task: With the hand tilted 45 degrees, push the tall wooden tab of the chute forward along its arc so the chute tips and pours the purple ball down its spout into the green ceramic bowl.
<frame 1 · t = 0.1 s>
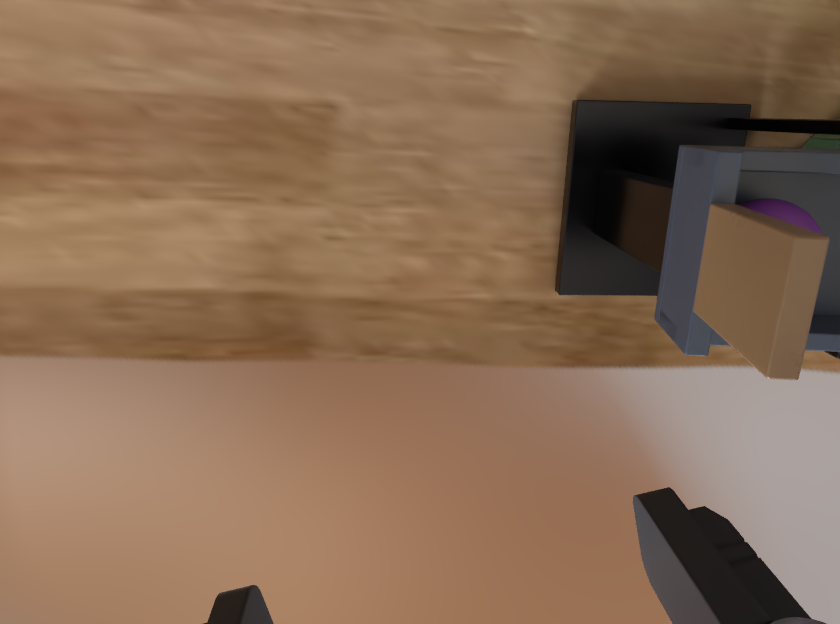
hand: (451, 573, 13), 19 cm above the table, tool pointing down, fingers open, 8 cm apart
stand: (725, 202, 30), on the table
ball: (762, 251, 19), point 11 cm above the table, tilted 7°, touching chute
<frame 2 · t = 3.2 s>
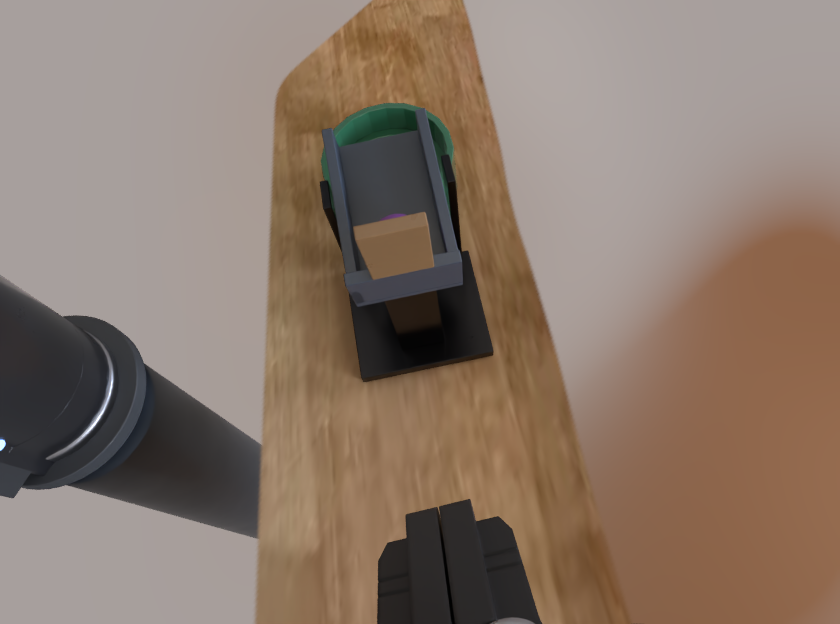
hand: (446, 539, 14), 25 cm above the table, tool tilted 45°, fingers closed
stand: (408, 268, 46), on the table
chute: (384, 180, 32), point 14 cm above the table, hinge at -8.1°, touching ball
bowl: (396, 195, 49), on the table
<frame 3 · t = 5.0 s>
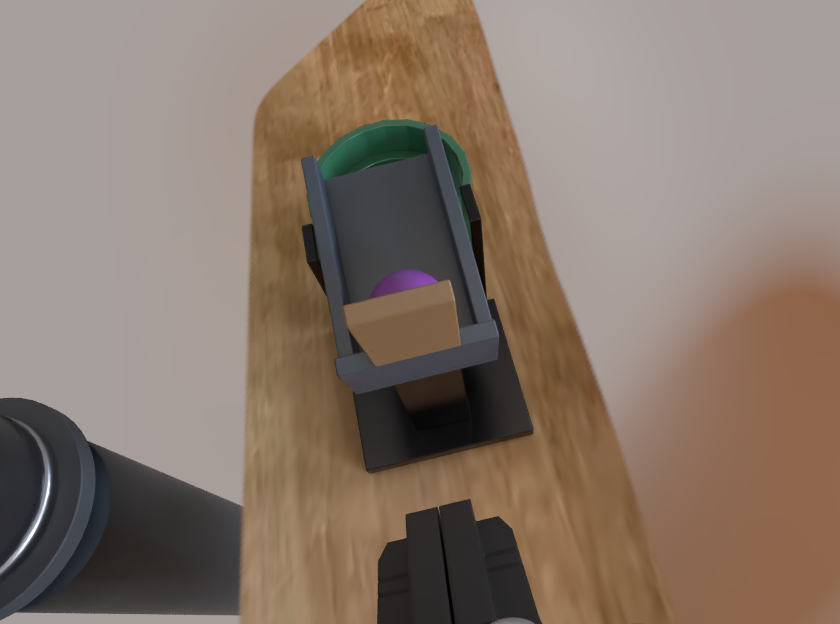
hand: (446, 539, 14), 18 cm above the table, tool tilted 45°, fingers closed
stand: (420, 322, 37), on the table
ball: (408, 310, 25), point 11 cm above the table, tilted 7°, touching chute
chute: (386, 225, 23), point 14 cm above the table, hinge at -8.1°, touching ball
bowl: (401, 231, 40), on the table
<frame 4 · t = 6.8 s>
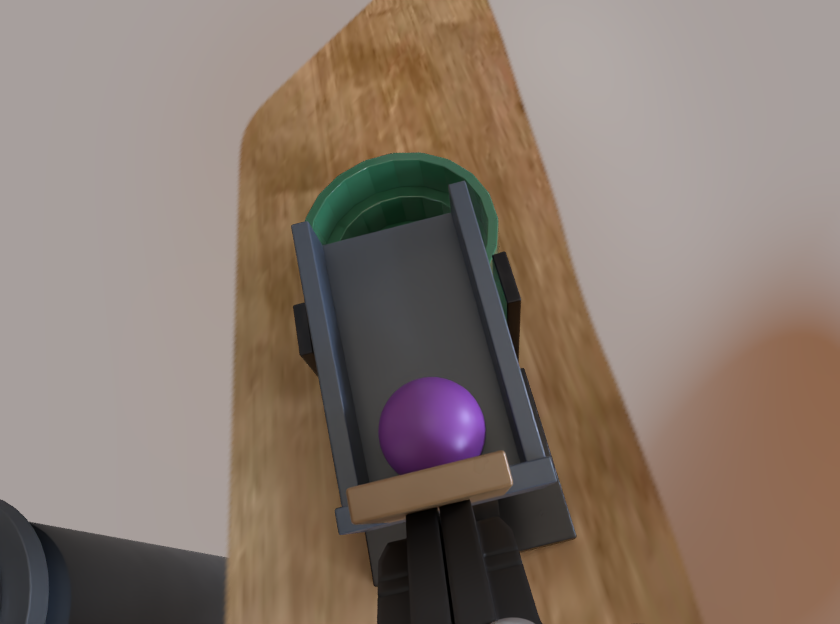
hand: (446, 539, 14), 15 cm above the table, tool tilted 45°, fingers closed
stand: (435, 394, 31), on the table
ball: (431, 430, 19), point 11 cm above the table, tilted 6°, touching chute
chute: (403, 326, 18), point 14 cm above the table, hinge at -7.3°, touching ball, gripper
bowl: (412, 281, 34), on the table
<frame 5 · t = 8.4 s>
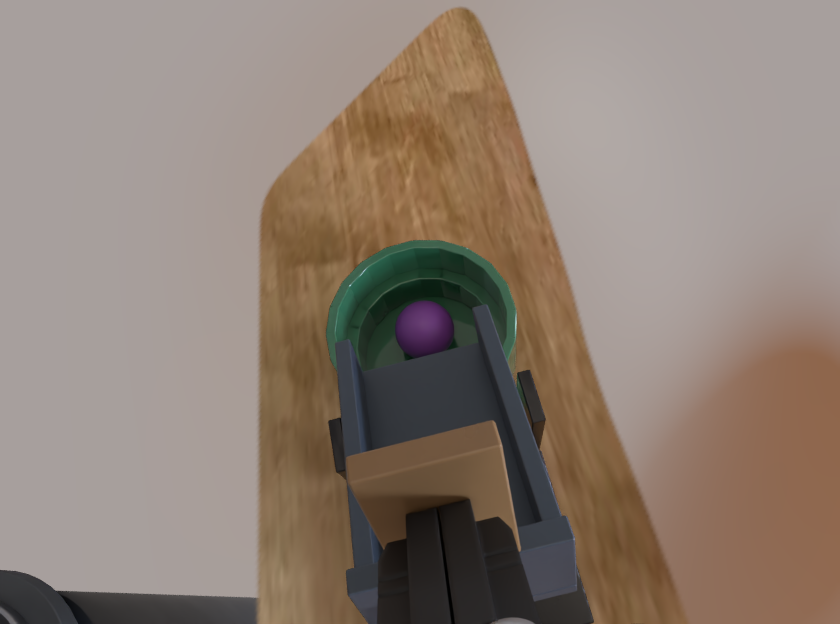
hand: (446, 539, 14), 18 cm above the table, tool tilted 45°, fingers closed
stand: (455, 474, 32), on the table
ball: (424, 330, 34), point 2 cm above the table, tilted 105°, touching bowl
chute: (423, 397, 19), point 15 cm above the table, hinge at 19.7°, touching gripper
bowl: (430, 358, 35), on the table
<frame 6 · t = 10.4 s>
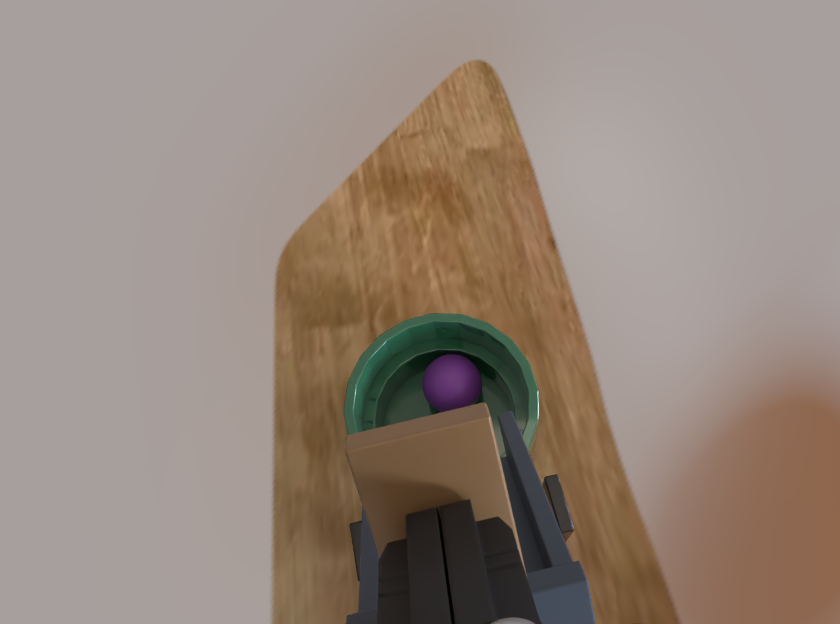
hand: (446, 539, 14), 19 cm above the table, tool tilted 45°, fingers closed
stand: (474, 553, 32), on the table
ball: (451, 384, 34), point 2 cm above the table, tilted 75°, touching bowl
chute: (439, 463, 19), point 14 cm above the table, hinge at 42.5°
bowl: (448, 428, 35), on the table
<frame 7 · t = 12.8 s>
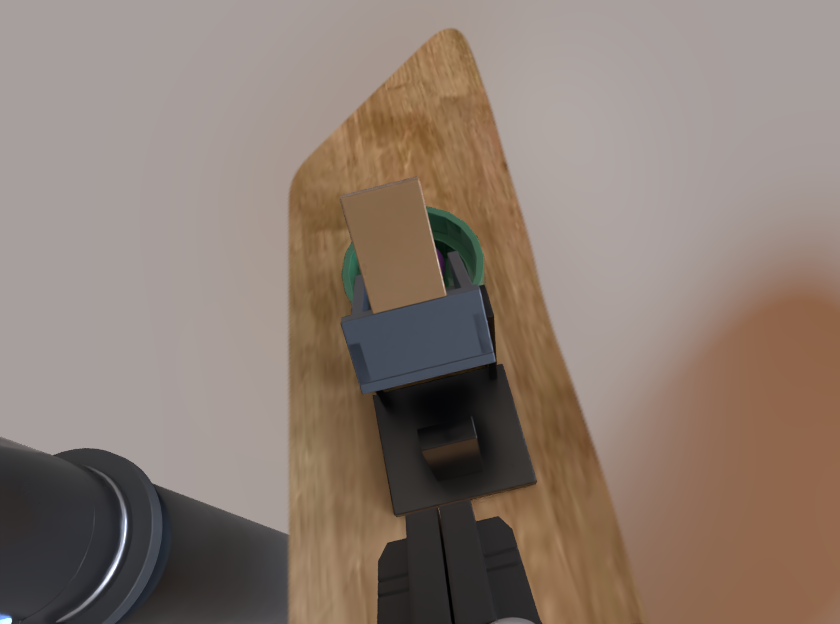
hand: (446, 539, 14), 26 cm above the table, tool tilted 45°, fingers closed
stand: (438, 383, 43), on the table
chute: (401, 257, 30), point 14 cm above the table, hinge at 42.5°
bowl: (421, 299, 46), on the table
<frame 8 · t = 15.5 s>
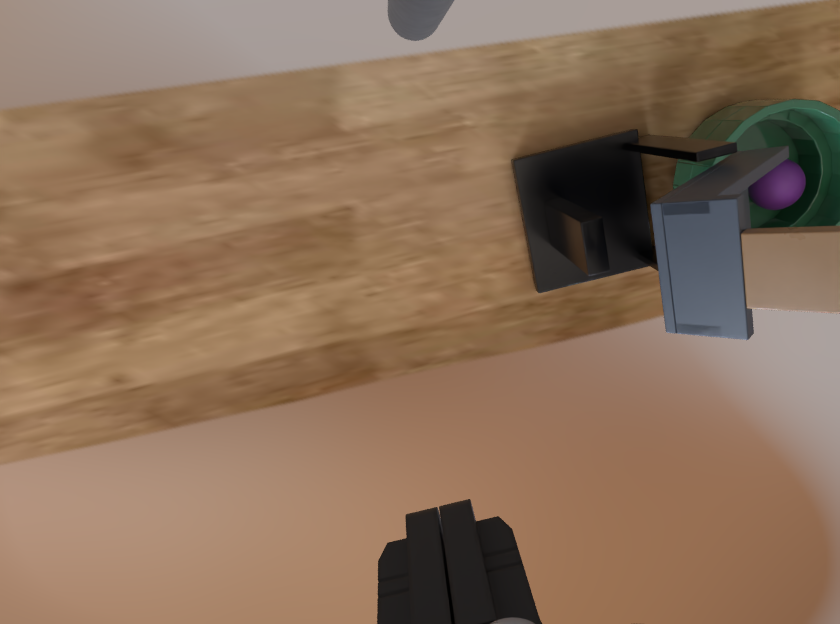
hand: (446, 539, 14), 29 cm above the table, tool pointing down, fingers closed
stand: (641, 197, 41), on the table
ball: (775, 184, 39), point 2 cm above the table, tilted 97°, touching bowl
chute: (801, 233, 27), point 14 cm above the table, hinge at 42.5°
bowl: (740, 176, 41), on the table
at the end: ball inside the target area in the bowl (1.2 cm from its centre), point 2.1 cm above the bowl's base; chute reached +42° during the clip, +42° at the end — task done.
